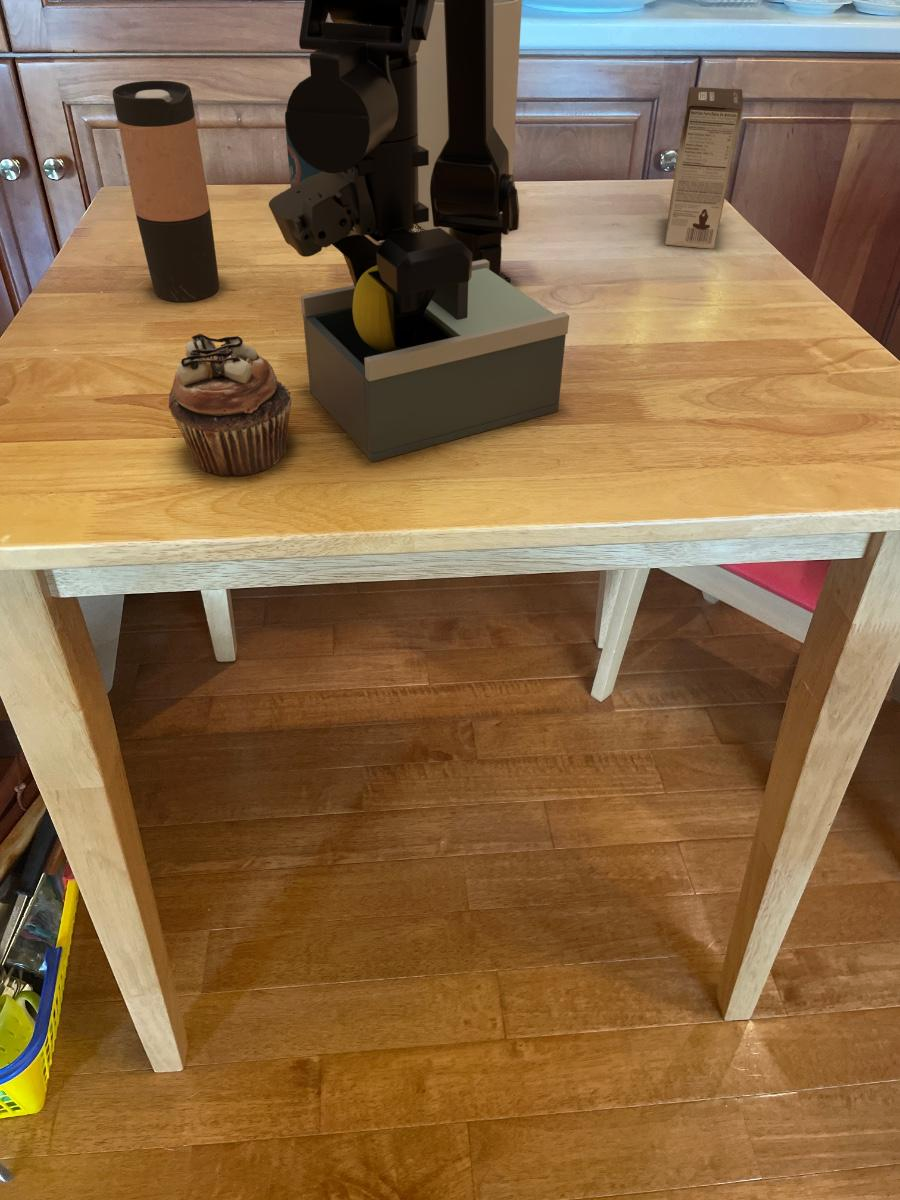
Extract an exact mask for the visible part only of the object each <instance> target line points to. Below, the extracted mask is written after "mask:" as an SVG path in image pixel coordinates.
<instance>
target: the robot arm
mask: <svg viewBox="0 0 900 1200" xmlns="http://www.w3.org/2000/svg"><path fill="white" fill-rule="evenodd" d="M434 3H435V0H304V6H303V11H302V18H301V24H300V30H299V37H298V44H299V49H301V50H306V51H308V50H309V51H313V52H311V53H310V54H309V71H310V75H309V76H308V77H306V78H305V79H303V80H302V81H300V82H299V83H298V84H296V86H295V87H294V88H293V89H292V92H291V94H290V96H289V98H288V100H287V105H286V110H285V113H284V124H285V128H286V129H287V133H288V136H289V139H290V141H291V143H292V146H293V147H294V149H295V150H296V151H297V153H298V154H299V156H300V157H301V158H302V159H303V160H304V161H305V162H306V163H308V164H309V165H311V166H312V167H314V168H315V169H318V170H320V171H322V172H320V173H318V174H315V175H312V176H310V177H308V178H306V179H304V180H303V181H301V182H299V183H297V184H296V185H294V186H292V187H291V186H290V187H289V188H287V189H285V190H284V191H282V192H280V193H279V194H277V195H275V196H274V197H272V198H271V199H270V200H269V201H268V207H269V209H270V212H271V214H272V216H273V218H274V220H275V223H276V224H277V226H278V228H279V230H280V233H281V234H282V236H283V239H284V241H285V243H286V244H287V245H290V246H291V247H292V248H293V249H294V250H295V251H296V252H297V254H298V255H299V256H301V257H305V258H308V257H313V256H315V255H316V254H318V253H320V252H321V251H322V249H323V248H328V247H330V246H333V247H334V248H335V249H336V250H338V252H340V253H341V254H342V256H343V258H344V262H345V263H346V264H345V265H346V267H347V269H348V272H349V275H350V278H351V280H352V283H353V284H352V285H354V287H356V284H357V282H358V280H359V279H360V277H361V276H362V275H363V273H365V272H366V271H367V270H368V269H370V268H371V267H374V266H376V265H377V268H378V270H377V271H372V272H368V275H369V276H370V277H371V278H373V279H374V280H375V281H376V282H377V283H379V284H380V285H381V286H382V287H383V288H384V289H385V292H386V299H387V305H388V311H389V318H390V324H391V330H392V335H393V339H394V344H395V346H396V347H397V348H401V347H405V346H407V345H408V344H409V343H410V341H411V339H412V337H413V335H414V333H415V331H416V329H417V326H418V324H419V322H420V320H421V318H422V316H423V314H424V312H425V310H426V309H427V307H428V305H429V303H430V301H431V299H432V298H433V296H434V294H435V293H436V291H437V289H438V288H440V287H444V286H449V285H454V284H459V283H463V282H468V281H469V280H470V279H471V277H472V262H474V261H479V260H484V259H486V260H487V261H489V270H490V271H492V272H493V273H495V274H496V275H498V276H499V277H501V278H502V279H504V280H505V281H507V282H508V283H510V284H511V282H512V278H511V277H510V276H509V275H507V274H506V273H504V272H502V271H501V270H502V269H501V268H502V249H503V248H502V240H503V239H502V237H503V235H506V236H508V235H509V234H510V232H513V231H518V229H519V227H520V203H519V195H518V190H517V188H516V183H515V179H514V174H513V175H511V174H509V153H508V150H507V148H506V146H505V145H504V143H503V141H502V140H501V138H500V136H499V135H498V133H497V131H496V130H495V128H494V126H493V18H494V0H444V16H445V45H446V74H447V103H448V133H449V134H448V140H447V142H446V144H445V145H444V147H443V149H442V151H441V153H440V155H439V157H438V158H437V160H436V162H435V164H434V168H433V172H432V176H431V182H430V197H431V207H432V216H433V225H434V227H448V228H449V234H448V233H447V232H445V231H444V230H442V229H441V228H436V229H430V230H420V231H415V230H413V229H414V225H415V224H417V223H422V222H428V221H429V208H428V207H427V206H425V205H423V204H422V203H420V202H419V196H418V167H419V166H426V165H429V151H428V150H427V149H425V148H423V147H421V146H420V145H418V108H417V60H416V59H417V56H416V53H417V52H418V49H419V45H420V42H421V40H424V41H426V40H427V35H428V30H429V26H430V21H431V17H432V12H433V8H434ZM328 17H329V19H330V20H331V21H332V22H331V21H330V22H329V21H327V19H328ZM286 129H285V130H286ZM500 212H502V214H500ZM417 225H418V224H417Z"/></svg>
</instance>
